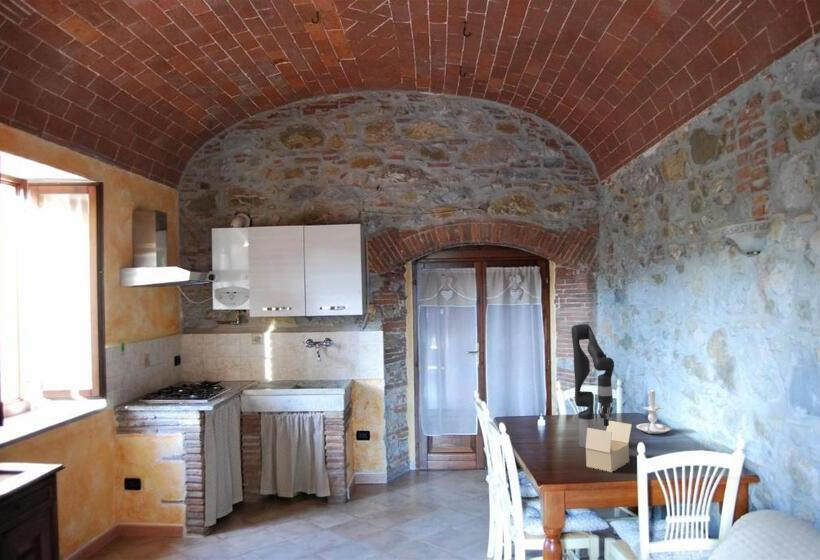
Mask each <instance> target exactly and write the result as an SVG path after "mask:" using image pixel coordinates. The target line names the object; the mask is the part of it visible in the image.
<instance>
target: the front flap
mask: <svg viewBox="0 0 820 560" xmlns="http://www.w3.org/2000/svg"><path fill="white" fill-rule="evenodd" d="M611 437H612V432H609V431H606V430H603V429H597V428H594V429H593V428H587V437H586V448H588V449H593V450H598V451H603V452H608V453H610V450H611ZM586 448H585V449H586Z"/></svg>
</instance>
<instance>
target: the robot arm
mask: <svg viewBox="0 0 820 560" xmlns="http://www.w3.org/2000/svg"><path fill="white" fill-rule="evenodd" d="M570 331H571V333H570V334H571V341H572V348H573V349H572V350H573V370H574V371H573V373H574V402H575V405H576V407H581V408H582V407H583V408H587V409H585V410H582V411H580V412H579V411H578V413H577V416H578V417H577V419H578V422H577V423H578V442H579V443H578V446H579V447H581V448H584V449H586V437H587V428H593V429H595V412H594V409H595V407H594V404H595V402H594V393H593V392H592V391H584V390H583V391H581V388H582V386H583V384H584V382H585V381H586V379H587V378H588V377H589V374H590V372H591V366H590V365H591V363H590V359H589V357H588V356H587V354H586V352H585V351H584V350H583V349H582V347H581V344H580V341H583V340H584V341H585V340H588V344H587V352H588V354H589V355H590V357H591V359H592V363H593V368H594V369H595V370H597V371H598V372H600V371H601V372H602V371H604V373H603V374H599V375H597V403H598V404H600V409H599V410H598V414H599V416H600V419H603V426H605V427H607V426H609V421H610V420H609V419H610V418H611V416H612V414H613V409H614V407H613V406H611V404H613V389H612V387H613V386H612V377H613V373H614V369H615V363H614V359H612V358H611V357H605V355H606V354H605V352H604V350H602V348H601V347H600V345H599V343H598V341H597V338H596V336H595V334H594V332H593V329H592V327H591V326H590V325H589V324H586V323H583V324H574V325H573V326H571V330H570Z"/></svg>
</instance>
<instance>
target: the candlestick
mask: <svg viewBox="0 0 820 560" xmlns="http://www.w3.org/2000/svg"><path fill="white" fill-rule="evenodd" d="M648 403H649V406H643V407H642V409H643V410H647V411H649V414H648V415H647V419H648V421H650V422H646V423H639V424H636V425H635V427H636V428H637V430H638V429H639V431H642V432H643V433H648V434H651V435H653V434H654V435H658V434H660V435H661V434H664V433H667V432H668V431H671V427H670V426H668V425H665V424H660V423H656V422H657V420H658V415H657V413H656V412H658V411H662V409H663V408H662V407H659V406H655V405H656V392H655V390H654V389H652V390H651V389H650V390H648Z"/></svg>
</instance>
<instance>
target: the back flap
mask: <svg viewBox="0 0 820 560" xmlns="http://www.w3.org/2000/svg"><path fill="white" fill-rule="evenodd" d="M632 427H633V424H632V423H626V422H620V421H613V420H609V426H606V429H605V431H609V432H612V437H611V440H613V441H617V442H621V443H627V444H629V443H630V437H631V432H632ZM629 445H630V444H629Z"/></svg>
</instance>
